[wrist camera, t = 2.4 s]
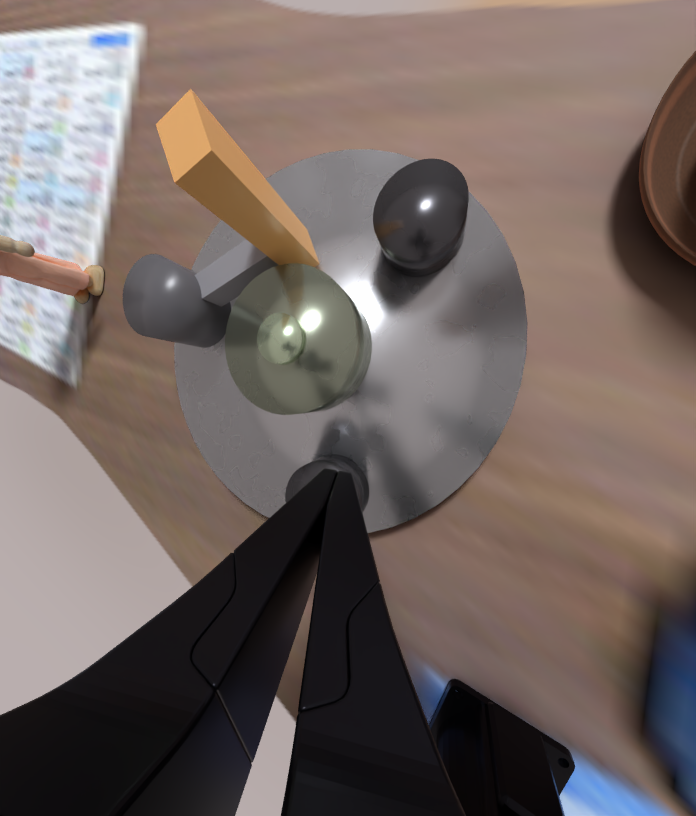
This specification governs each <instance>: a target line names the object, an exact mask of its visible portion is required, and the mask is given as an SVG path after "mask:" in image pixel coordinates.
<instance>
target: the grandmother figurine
mask: <svg viewBox="0 0 696 816" xmlns="http://www.w3.org/2000/svg"><path fill="white" fill-rule="evenodd" d="M0 275H3V276H7V277H11V278H14V279H16V280H19V281H22V282H26V283H30V284H33V285H37V286H40V287H43V288H46V289H50V290H54V291H57V292H60V293H63V294H67V295H71V296H74V297H75V299H76V300H77V301H78V302H79V303H81V304H84V303H86V302H87V301H88V299H89V292H90V293H91V294H93V295H95V296H98V295H101V293H102V291H103V284H104V270H103V268H102V267H100V266H97V265H91V266H88V267H87V268H86V269H85V271H82V270H81V268H80V267H79V265H77V264H76V263H72V262H69V261H65V260H61V259H57V258H54V257H50V256H46V255H42V254H38V253H35V251H34V248H33V247H32V246H31V245H30V244H29V243H27V242H23V241H15V240H13V239H11V238H9V237H5V236H2V235H0Z"/></svg>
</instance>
